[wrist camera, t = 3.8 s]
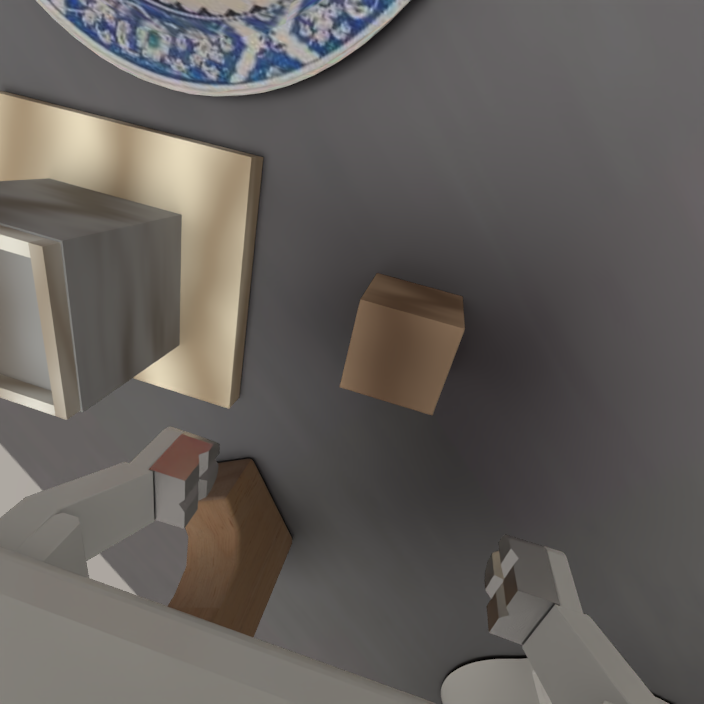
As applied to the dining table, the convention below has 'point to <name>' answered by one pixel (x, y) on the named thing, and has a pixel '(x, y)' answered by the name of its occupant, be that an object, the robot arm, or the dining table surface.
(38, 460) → the dining table surface
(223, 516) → the wooden block
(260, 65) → the ceramic plate
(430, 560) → the dining table surface
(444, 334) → the walnut cube
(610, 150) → the dining table surface
